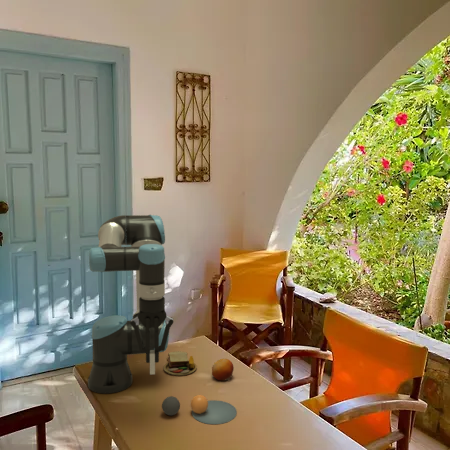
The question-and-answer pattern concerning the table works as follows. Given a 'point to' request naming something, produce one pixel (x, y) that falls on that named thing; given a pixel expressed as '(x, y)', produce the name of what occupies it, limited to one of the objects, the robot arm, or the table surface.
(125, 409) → the table surface
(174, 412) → the dark grey ball
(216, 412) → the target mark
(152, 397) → the table surface
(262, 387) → the table surface
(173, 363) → the toy sandwich meal
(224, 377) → the fruit
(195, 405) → the orange ball
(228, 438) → the table surface
